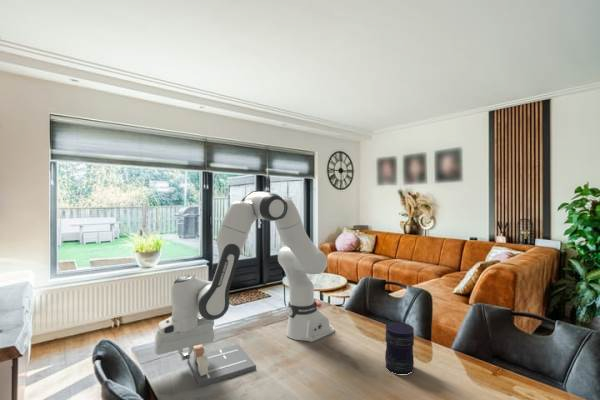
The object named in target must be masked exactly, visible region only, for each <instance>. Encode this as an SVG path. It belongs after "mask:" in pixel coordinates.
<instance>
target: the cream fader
mask: <svg viewBox="0 0 600 400" xmlns="http://www.w3.org/2000/svg"><path fill="white" fill-rule="evenodd" d="M197 363H198V371H199V373H200V375H201V376H203V375H206V374H208V366H209V360H208V358H207V356H206V355H204V356H201V357H197Z"/></svg>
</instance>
